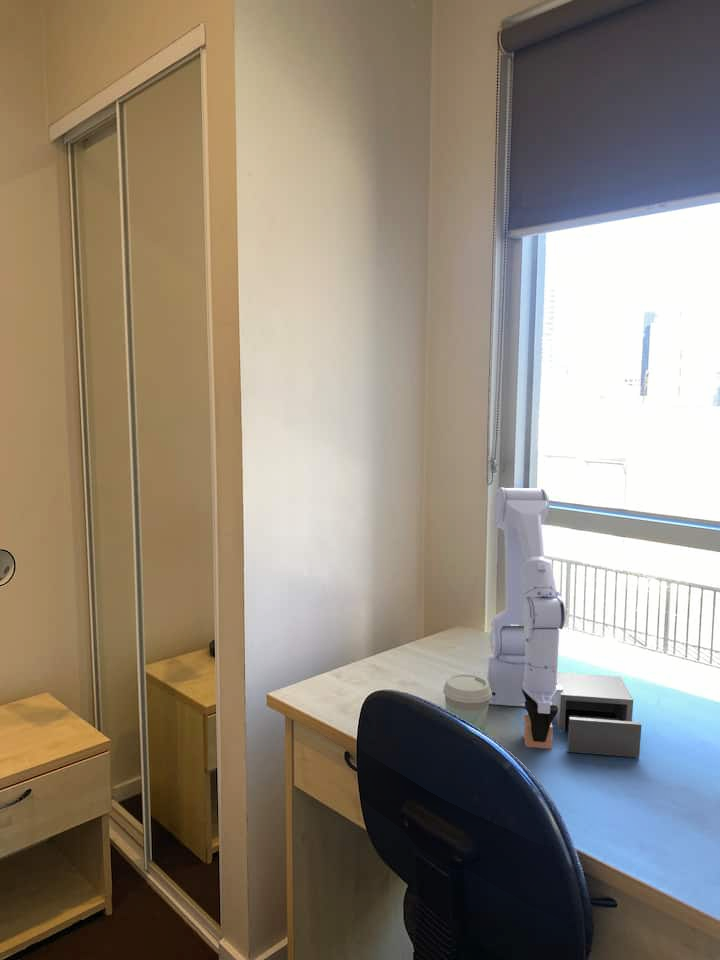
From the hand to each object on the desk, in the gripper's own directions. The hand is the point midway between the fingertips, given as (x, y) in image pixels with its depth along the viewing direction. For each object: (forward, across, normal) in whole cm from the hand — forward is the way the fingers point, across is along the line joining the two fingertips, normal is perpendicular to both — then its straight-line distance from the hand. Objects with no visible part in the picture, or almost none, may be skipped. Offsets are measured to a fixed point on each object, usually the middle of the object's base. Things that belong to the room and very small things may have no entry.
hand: (537, 734), depth 131 cm
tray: (+1, +2, -11) cm, 11 cm away
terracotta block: (+1, 0, 0) cm, 1 cm away
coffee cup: (+2, -4, +13) cm, 14 cm away
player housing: (+1, +10, -11) cm, 15 cm away
